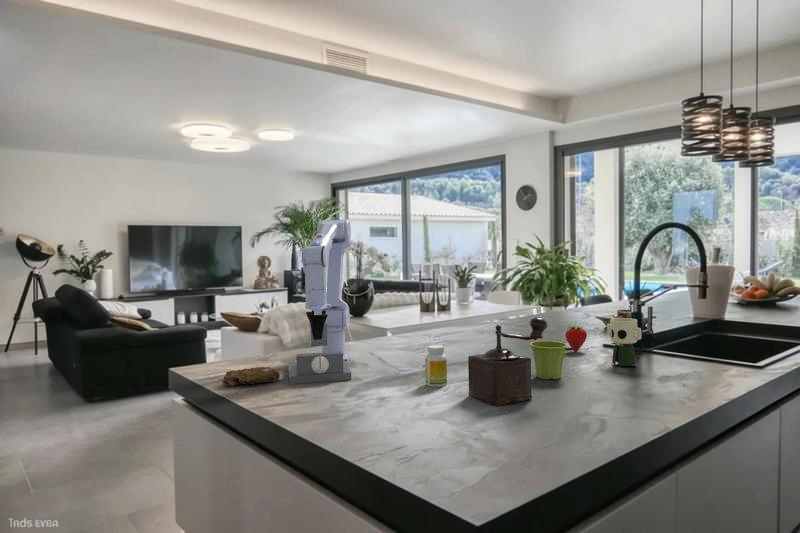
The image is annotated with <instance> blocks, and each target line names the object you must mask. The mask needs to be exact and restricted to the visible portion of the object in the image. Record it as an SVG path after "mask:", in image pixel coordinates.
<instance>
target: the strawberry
mask: <svg viewBox="0 0 800 533" xmlns="http://www.w3.org/2000/svg"><path fill="white" fill-rule="evenodd" d="M575 324H576V323H574V325H568V329H567V330H566V331H565V334H564V335H565V340H566V342H567V343H568V346H569V347H570V348H571V349H572V350H573V351H574V352H578V351H579V350H580V349H581V347H582V346H583V345H584V343H585V342H586V340H587V336H588V334H587V333H588V332H587V331H586V329H583V326H582V325H575Z"/></svg>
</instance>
